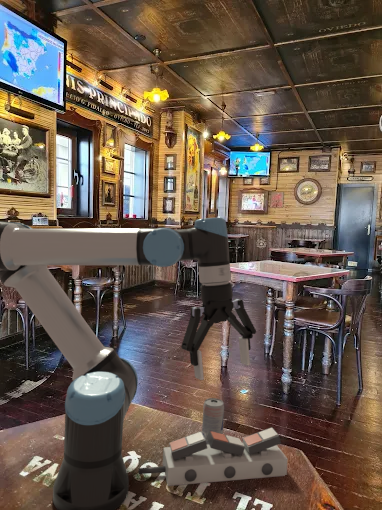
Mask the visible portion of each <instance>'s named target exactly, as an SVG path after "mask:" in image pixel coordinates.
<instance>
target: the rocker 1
mask: <svg viewBox="0 0 382 510" xmlns="http://www.w3.org/2000/svg"><path fill="white" fill-rule="evenodd" d="M168 445H169V447H170V449H171V452H172V456H173V460H177V459H180V458H183V457H185V456H188V455H191V454H193V453H196V452H199V451H202V450H204V449H207V444H206V440H205V438H204V436H203V434H202V430H201V431H198V432H195V433H192V434H189V435H187V436H184V437H181V438H178V439H176V440H173V441H171V442H168Z"/></svg>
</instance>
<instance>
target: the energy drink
mask: <svg viewBox="0 0 382 510" xmlns="http://www.w3.org/2000/svg"><path fill="white" fill-rule="evenodd" d="M202 409H203V411H202V424H201V425H202V426H201V429H202V430H201V431H202V434H203V436H204V438H205V440H206V444H207V445H209V443H208V441H207V436H208V433H209V431H212V432H216V433H220V434H224V433H223V432H224V418H225V417H224V416H225V404H224V401H223V400H221V399H219V398H215V397H209V398H206V399H205V400H204V402H203V407H202Z"/></svg>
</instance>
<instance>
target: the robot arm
mask: <svg viewBox="0 0 382 510" xmlns="http://www.w3.org/2000/svg"><path fill="white" fill-rule="evenodd" d="M194 260H197V262H198V263H197V265H198V276H199V277H198V278H199V279H198V280H199V283H200V284H201V285H200V287H199V288H200V299H201V302H202V306H201V307H200V306H199V307H196V306H192V307H190V317H189V321H188V323H187V327H186V330H185V333H184V336H183V340H182V342H181V347H180V348H181V349H182V350H184V351H187V352H189V359H190V364H191V365H192V366H193V370H194V371H193V372H194V378H196V379H198V380H200V381H203V380H205V378H204V377H205V376H204V368H203V367H204V365H203V356H202V355H203V354H202V351H201V350H199V349H200V348H201V346H202V344H203V342H204V340H205V338H206V336H207V334H208V333H209V330H210V329H211V328H212V327H213V326H214V324H219V323H221V322H223V323H224V322H228V323H229V324H230V325H231V326H232V327H233V328H234V329H235V330H236V332H237V333H238V335H240V336H241V337H240V336H239V337H238V348H239V356H240V357H239V359H240V364H242V365H243V366H244V365H245V366H247V367H248V366H250V365H251V361H250V360H251V359H250V351H251V339H253V337H254V335H255V334H256V333H257V329H256V328H255V326H254V324H253V322H252V320H251V318H250V316H249V314H248V312H247V310H246V309H245V305H244V300H243V299H241V298H234V299H233V300H232V298H233V297H234V296H233V286H232V285H233V284H232V282H230V281H231V280H232V273H231V264H230V261H231V260H230V248H229V235H228V228H227V222H226V220H225V219H224V218H222V217H207V218H199V219H196V220H195V221H194V226H193V227H191V228H186V229H185V228H184V229H182V228H181V229H172V228H170V227H157V228H32V227H31V226H29V225H28V224H27V225H26V224H24V223H21V222H17V221H16V222H15V221H0V281H1V282H2V284H3V285H4V286H5V287H8V288H14V289H15V290H16V292H17V293H18V294H19V295H20V296H21V298H22V300H23V301H24V303H25V304H26V306H28V308H29V310H30V311H31V313H32V314H33V315H34V316H35V318H36V319H37V321H38V322H39V323H40V325H41V326H42V327H43V329H44V330H45V332H46V333H47V335H48V336H49V337H50V338H51V340H52V342H54V344H55V346H56V347H57V348H58V350H59V351H60V352H61V354H62V355H63V356H64V358H65V359H66V361H67V362H68V363H69V365H70V366H71V368H72V370H73V371H72V379H71V380H72V381H71V382H70V385H69V386H68V388H67V391H66V395H65V396H66V397H65V400H64V402H65V403H64V409H65V411H64V413H65V416H64V440H63V442H64V443H63V444H64V445H63V459H62V462H61V465H60V466H59V467H60V468H59V469H58V472H57V476H56V478H55V480H54V483H53V487H52V488H53V490H52V502H53V505H54V508H55V509H56V510H116V509H118V508H119V507H120V506H121V505H122V504H124V502H125V500H126V499H127V497H128V494H129V483H130V482H129V481H130V480H129V474H128V471H127V468H126V464H125V460H124V457H123V453H122V452H123V450H122V449H123V434H124V431H123V430H124V421H125V417H126V415H127V412H128V410H129V409H130V406H131V404H132V402H133V401H134V399H135V397H136V394H137V391H138V384H139V381H138V380H139V377H138V373H137V371H136V369H135V366H134V365H133V364H132V363H131V362H130V361H129V360H128V359H126V358H123V357H120V356H119V355H118V353H117V352H116V350H115V349H114V348H113V347H107V346H104V345H103V343H102V342H101V341H100V339H99V338H98V336H97V335H96V334H95V332H94V331H93V329H92V328H91V327H90V325H89V324H88V323H87V322H86V320H85V318H84V317H83V316H82V314H81V313H80V312H79V310H78V309H77V307H76V306H75V304H74V303H73V302H72V300H71V299H70V297H69V296H68V294H67V293H66V292H65V291H64V289H63V288H62V286H61V285H60V284H59V282H58V281H57V279H56V278H55V277H54V275H53V274H52V272H51V271H50V270H49V268H48V266H155V267H160V268H163V267H164V268H166V267H172V266H174V265H175V264H176V263H178V262H183V261H194ZM233 309H234V310H235V313H236V315H235V314H234V313H233V312H232V311H233ZM202 316H203V317H202ZM201 317H202V319H201ZM237 317H238V318H239V319H237ZM199 324H200V325H199Z"/></svg>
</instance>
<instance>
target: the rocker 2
mask: <svg viewBox="0 0 382 510" xmlns="http://www.w3.org/2000/svg"><path fill="white" fill-rule="evenodd" d="M207 441H208V443H209V445H210V447H211V448H213V449H217V450H221V451H225V452H229V453H233V454H237V455H241V456H242V455H243V452H244V449H245V447H244V445H243V444H242V442H243V441H241V439H240V438H239V437H235V436H231V435H227V434H224V433H223V434H220V433H216V432H212V431H209V433H208V436H207Z"/></svg>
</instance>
